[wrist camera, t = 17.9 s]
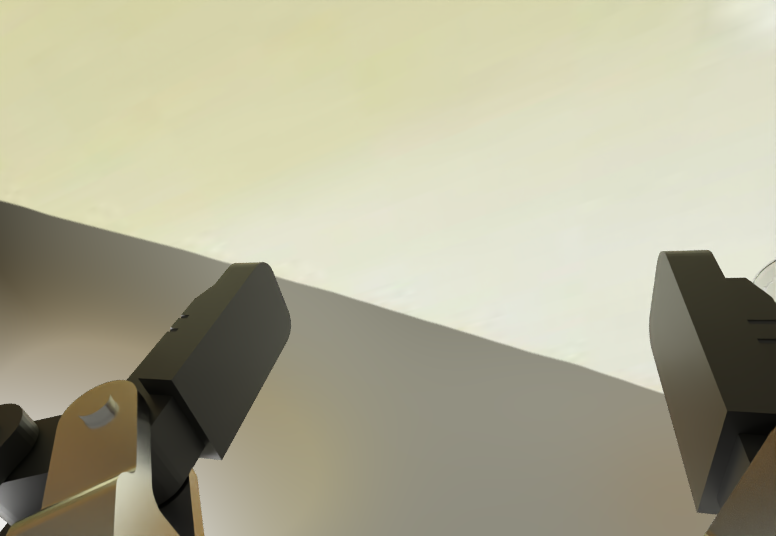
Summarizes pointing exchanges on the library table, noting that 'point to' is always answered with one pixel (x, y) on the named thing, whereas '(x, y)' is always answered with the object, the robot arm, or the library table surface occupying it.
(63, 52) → the library table surface
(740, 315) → the robot arm
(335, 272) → the library table surface
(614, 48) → the library table surface
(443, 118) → the library table surface
